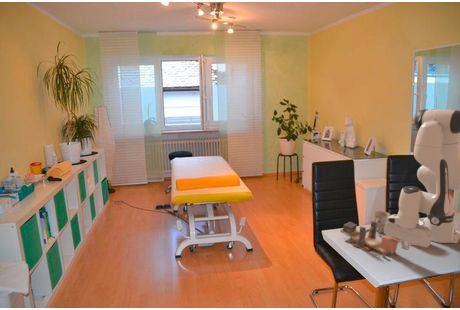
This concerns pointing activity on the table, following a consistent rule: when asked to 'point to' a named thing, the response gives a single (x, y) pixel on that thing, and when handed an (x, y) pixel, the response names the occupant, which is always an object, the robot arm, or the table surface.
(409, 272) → the table surface
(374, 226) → the stand
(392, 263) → the table surface
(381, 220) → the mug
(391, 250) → the salmon red rectangular block
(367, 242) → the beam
